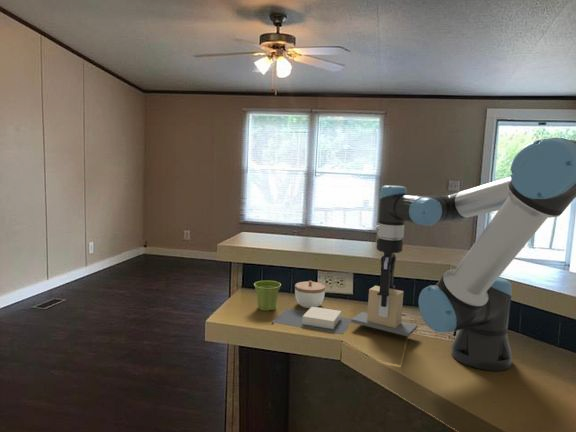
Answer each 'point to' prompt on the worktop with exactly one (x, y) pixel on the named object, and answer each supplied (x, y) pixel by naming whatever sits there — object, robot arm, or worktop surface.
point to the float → (394, 314)
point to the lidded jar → (309, 294)
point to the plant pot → (267, 294)
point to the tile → (321, 317)
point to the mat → (296, 318)
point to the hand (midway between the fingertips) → (384, 312)
